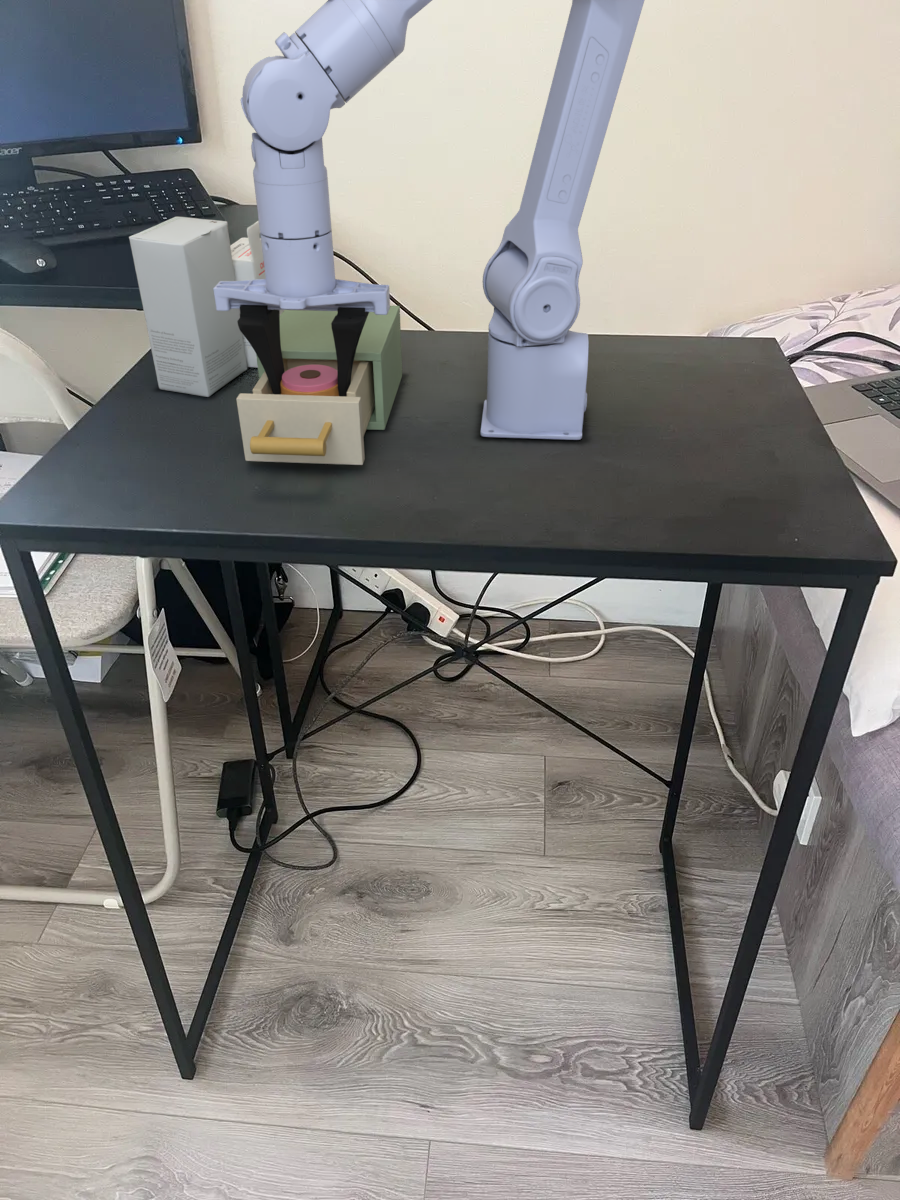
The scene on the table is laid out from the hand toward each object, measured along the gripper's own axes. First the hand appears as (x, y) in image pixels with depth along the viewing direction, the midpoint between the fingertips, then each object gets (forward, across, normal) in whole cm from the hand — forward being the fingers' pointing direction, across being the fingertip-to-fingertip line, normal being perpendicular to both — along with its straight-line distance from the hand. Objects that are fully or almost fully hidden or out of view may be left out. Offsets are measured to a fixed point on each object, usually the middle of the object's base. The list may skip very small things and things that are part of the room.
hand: (311, 391), depth 81 cm
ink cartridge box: (+6, -11, +22) cm, 26 cm away
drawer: (+4, 0, -2) cm, 5 cm away
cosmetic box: (+6, -15, +14) cm, 22 cm away
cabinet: (+5, 0, +10) cm, 12 cm away
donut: (+1, 0, 0) cm, 1 cm away
